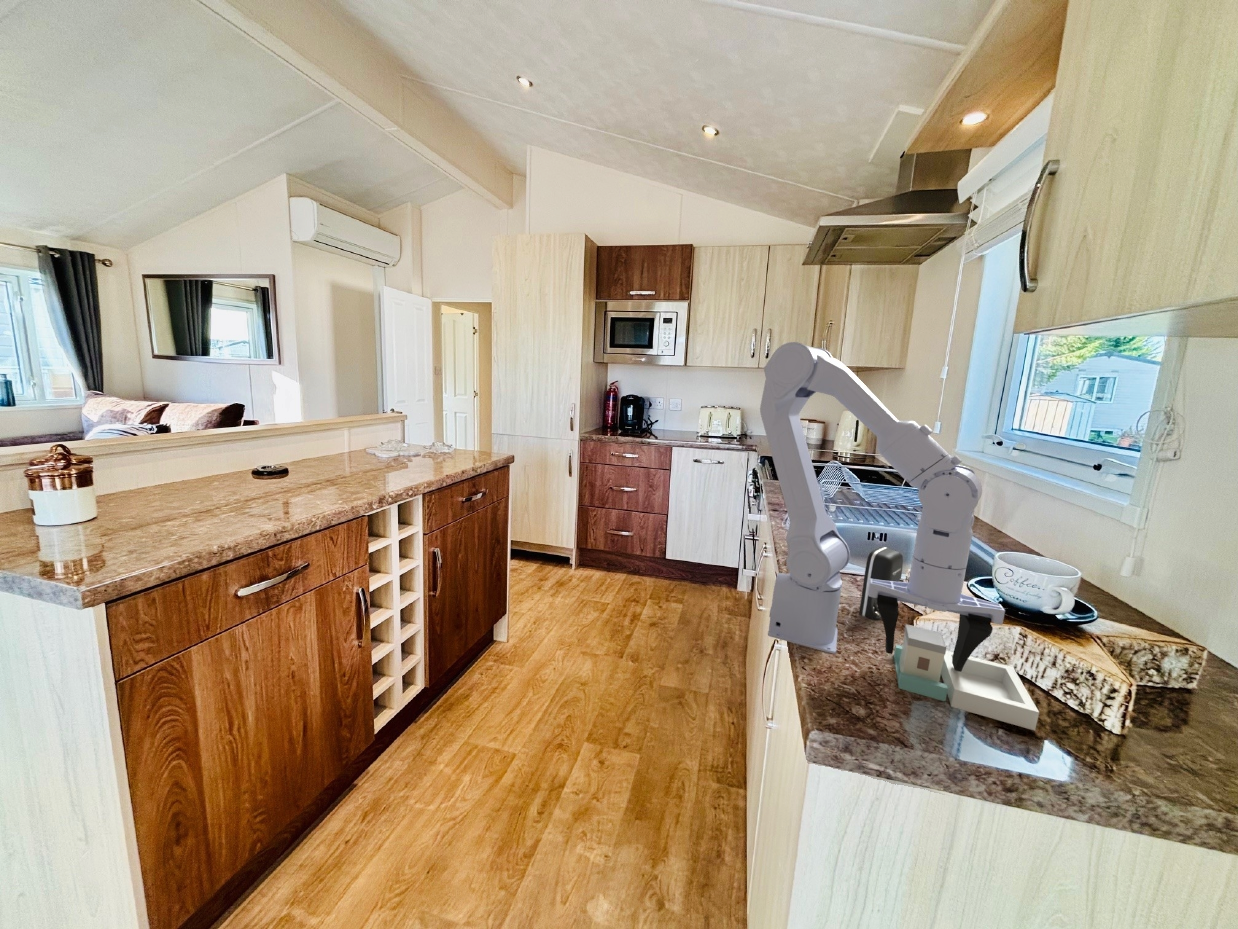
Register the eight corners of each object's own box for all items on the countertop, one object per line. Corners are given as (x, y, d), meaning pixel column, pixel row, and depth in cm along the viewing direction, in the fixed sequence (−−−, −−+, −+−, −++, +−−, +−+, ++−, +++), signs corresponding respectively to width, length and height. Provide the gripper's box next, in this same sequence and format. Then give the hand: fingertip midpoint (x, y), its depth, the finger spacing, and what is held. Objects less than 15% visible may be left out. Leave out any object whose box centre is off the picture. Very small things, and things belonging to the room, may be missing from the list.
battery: (881, 625, 77) (892, 559, 75) (857, 616, 80) (867, 551, 78) (897, 613, 82) (907, 550, 80) (874, 605, 85) (883, 544, 83)
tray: (950, 708, 57) (954, 689, 57) (937, 666, 66) (941, 649, 66) (1034, 732, 54) (1039, 712, 54) (1009, 684, 63) (1012, 667, 62)
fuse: (901, 679, 62) (908, 638, 61) (898, 664, 66) (905, 624, 65) (938, 690, 60) (946, 647, 59) (933, 673, 64) (941, 632, 63)
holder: (944, 703, 58) (947, 688, 58) (898, 690, 60) (900, 675, 60) (934, 667, 66) (936, 654, 66) (893, 657, 68) (895, 644, 68)
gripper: (876, 558, 60) (861, 657, 62) (1020, 585, 54) (997, 693, 56) (873, 543, 66) (860, 633, 68) (1002, 565, 60) (983, 663, 62)
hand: (921, 658), depth 63 cm, fingers open, 7 cm apart
